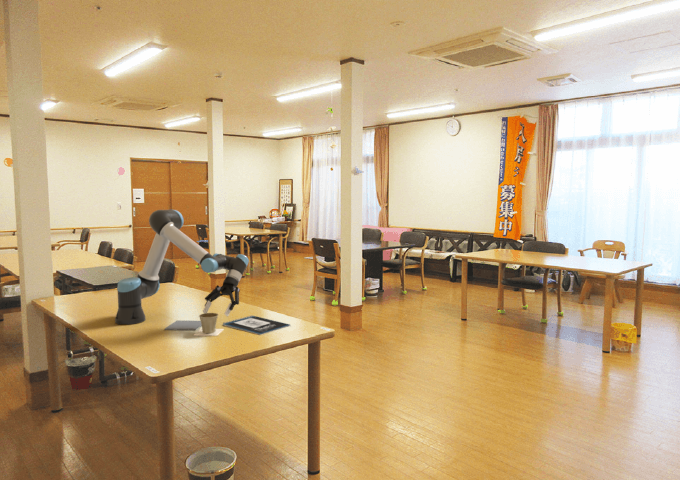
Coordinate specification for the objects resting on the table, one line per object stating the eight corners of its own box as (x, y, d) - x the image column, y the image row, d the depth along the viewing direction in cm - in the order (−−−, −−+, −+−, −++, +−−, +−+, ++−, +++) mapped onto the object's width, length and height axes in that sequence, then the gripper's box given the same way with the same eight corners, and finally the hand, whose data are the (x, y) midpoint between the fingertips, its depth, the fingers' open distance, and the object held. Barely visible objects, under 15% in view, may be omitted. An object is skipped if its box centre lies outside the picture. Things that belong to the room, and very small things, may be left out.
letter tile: (192, 335, 225) (192, 335, 225) (201, 328, 237) (201, 328, 237) (217, 335, 224) (217, 335, 224) (224, 329, 236) (224, 328, 236)
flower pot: (213, 335, 225) (212, 317, 224) (195, 334, 227) (195, 316, 226) (221, 329, 234) (221, 313, 233) (204, 328, 236) (204, 312, 235)
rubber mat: (164, 329, 234) (164, 328, 234) (177, 321, 250) (177, 320, 250) (195, 330, 234) (195, 328, 234) (205, 322, 250) (205, 320, 249)
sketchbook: (260, 336, 226) (260, 332, 226) (221, 326, 244) (221, 322, 244) (290, 326, 243) (290, 322, 243) (252, 318, 261) (252, 314, 261)
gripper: (254, 285, 243) (238, 320, 230) (216, 282, 253) (199, 315, 240) (248, 277, 238) (232, 312, 225) (210, 274, 247) (191, 307, 235)
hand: (215, 313), depth 233 cm, fingers open, 13 cm apart
